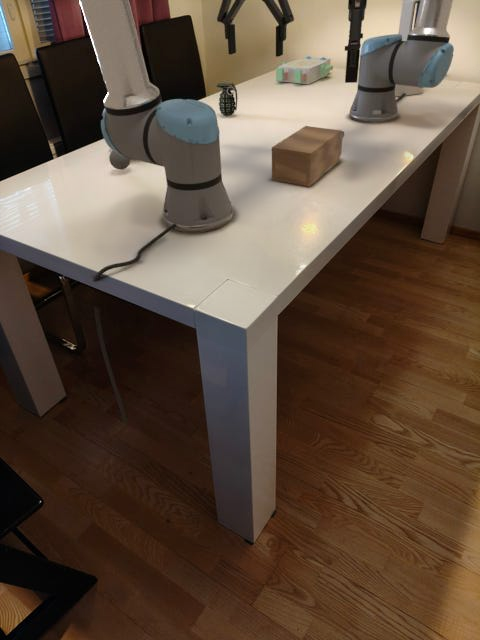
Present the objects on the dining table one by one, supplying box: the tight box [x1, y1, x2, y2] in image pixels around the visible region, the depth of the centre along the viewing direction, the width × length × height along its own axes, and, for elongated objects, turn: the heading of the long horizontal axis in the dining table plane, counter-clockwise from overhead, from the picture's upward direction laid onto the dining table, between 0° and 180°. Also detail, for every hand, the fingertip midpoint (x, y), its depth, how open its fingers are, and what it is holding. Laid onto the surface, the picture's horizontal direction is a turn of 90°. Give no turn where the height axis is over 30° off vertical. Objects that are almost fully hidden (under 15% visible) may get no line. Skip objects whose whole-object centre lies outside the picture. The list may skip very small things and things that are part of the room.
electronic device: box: [395, 0, 424, 98], centre depth 172 cm, size 12×8×30 cm, turn 105°
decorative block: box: [275, 55, 334, 85], centre depth 206 cm, size 26×6×20 cm
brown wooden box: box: [271, 125, 343, 188], centre depth 124 cm, size 19×10×8 cm, turn 148°
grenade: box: [215, 82, 238, 117], centre depth 166 cm, size 7×6×10 cm
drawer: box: [340, 130, 345, 157], centre depth 128 cm, size 24×9×6 cm, turn 148°
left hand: (255, 54), depth 126 cm, fingers open, 13 cm apart
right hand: (351, 75), depth 116 cm, fingers open, 13 cm apart
